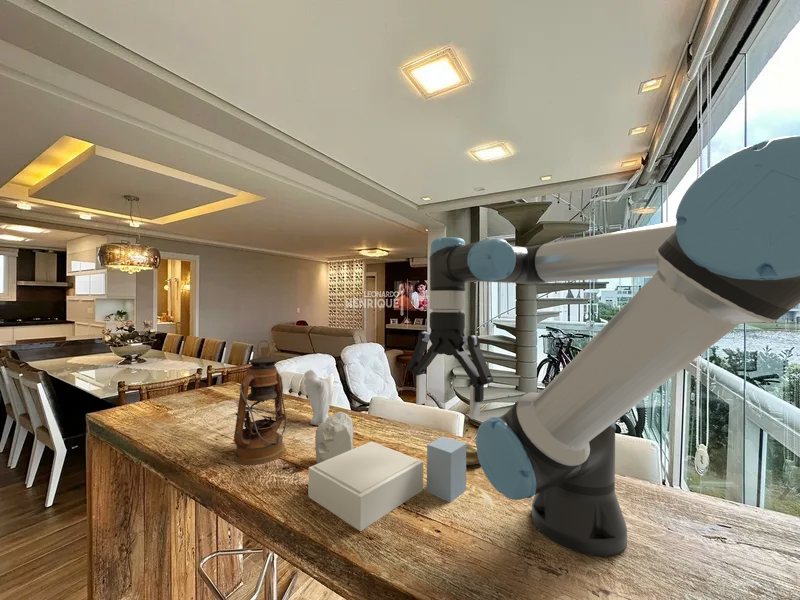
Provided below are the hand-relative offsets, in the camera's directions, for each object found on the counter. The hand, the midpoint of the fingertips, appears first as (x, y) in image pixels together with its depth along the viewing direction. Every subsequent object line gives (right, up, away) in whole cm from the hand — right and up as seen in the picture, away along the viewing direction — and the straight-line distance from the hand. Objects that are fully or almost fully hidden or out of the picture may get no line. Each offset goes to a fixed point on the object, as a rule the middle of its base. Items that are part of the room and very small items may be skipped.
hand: (446, 410), depth 73 cm
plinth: (-17, -17, -1) cm, 24 cm away
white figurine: (-37, -18, +40) cm, 57 cm away
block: (0, -17, 0) cm, 17 cm away
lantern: (-47, -17, +17) cm, 53 cm away
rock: (+5, -18, +15) cm, 24 cm away
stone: (-26, -17, +14) cm, 34 cm away
